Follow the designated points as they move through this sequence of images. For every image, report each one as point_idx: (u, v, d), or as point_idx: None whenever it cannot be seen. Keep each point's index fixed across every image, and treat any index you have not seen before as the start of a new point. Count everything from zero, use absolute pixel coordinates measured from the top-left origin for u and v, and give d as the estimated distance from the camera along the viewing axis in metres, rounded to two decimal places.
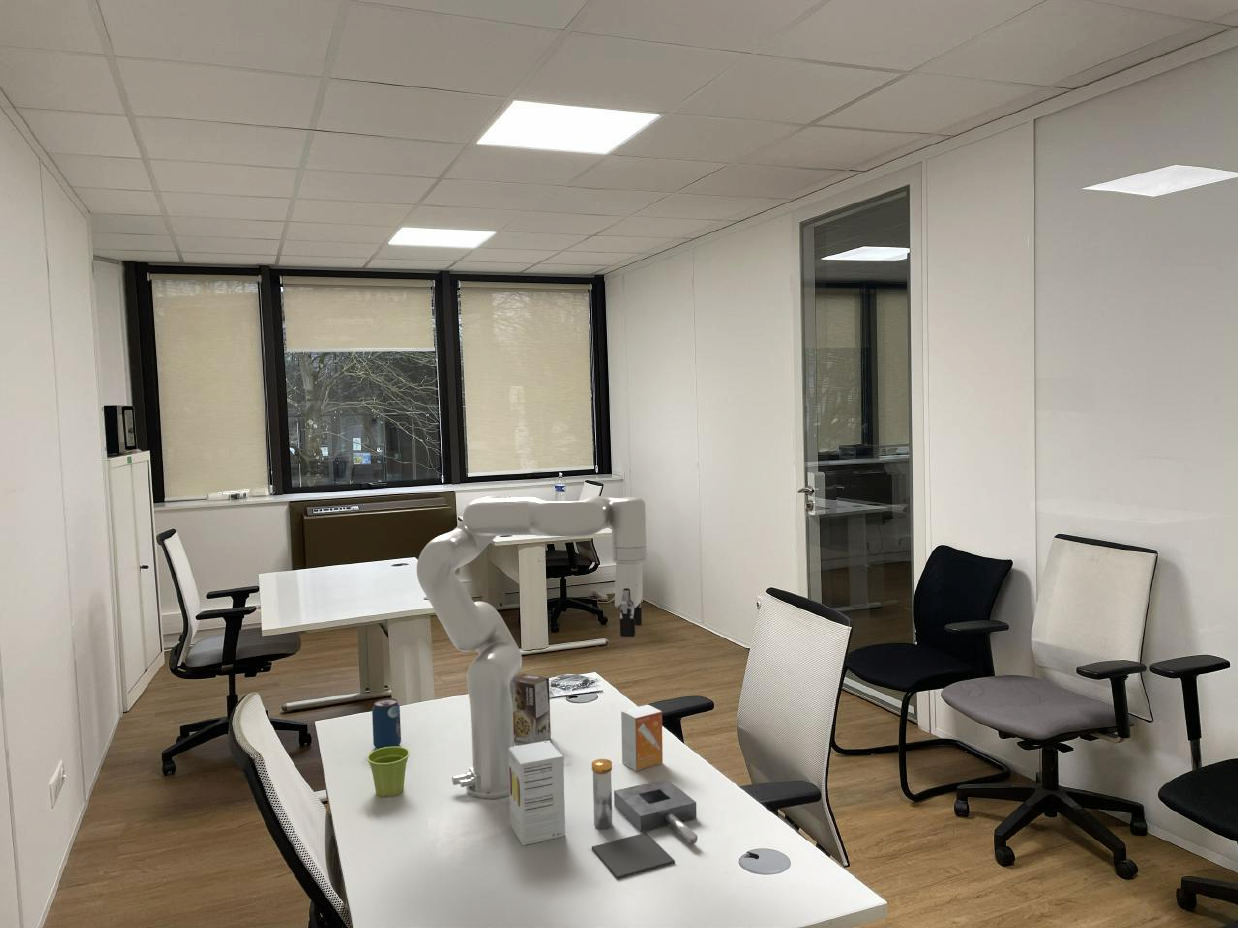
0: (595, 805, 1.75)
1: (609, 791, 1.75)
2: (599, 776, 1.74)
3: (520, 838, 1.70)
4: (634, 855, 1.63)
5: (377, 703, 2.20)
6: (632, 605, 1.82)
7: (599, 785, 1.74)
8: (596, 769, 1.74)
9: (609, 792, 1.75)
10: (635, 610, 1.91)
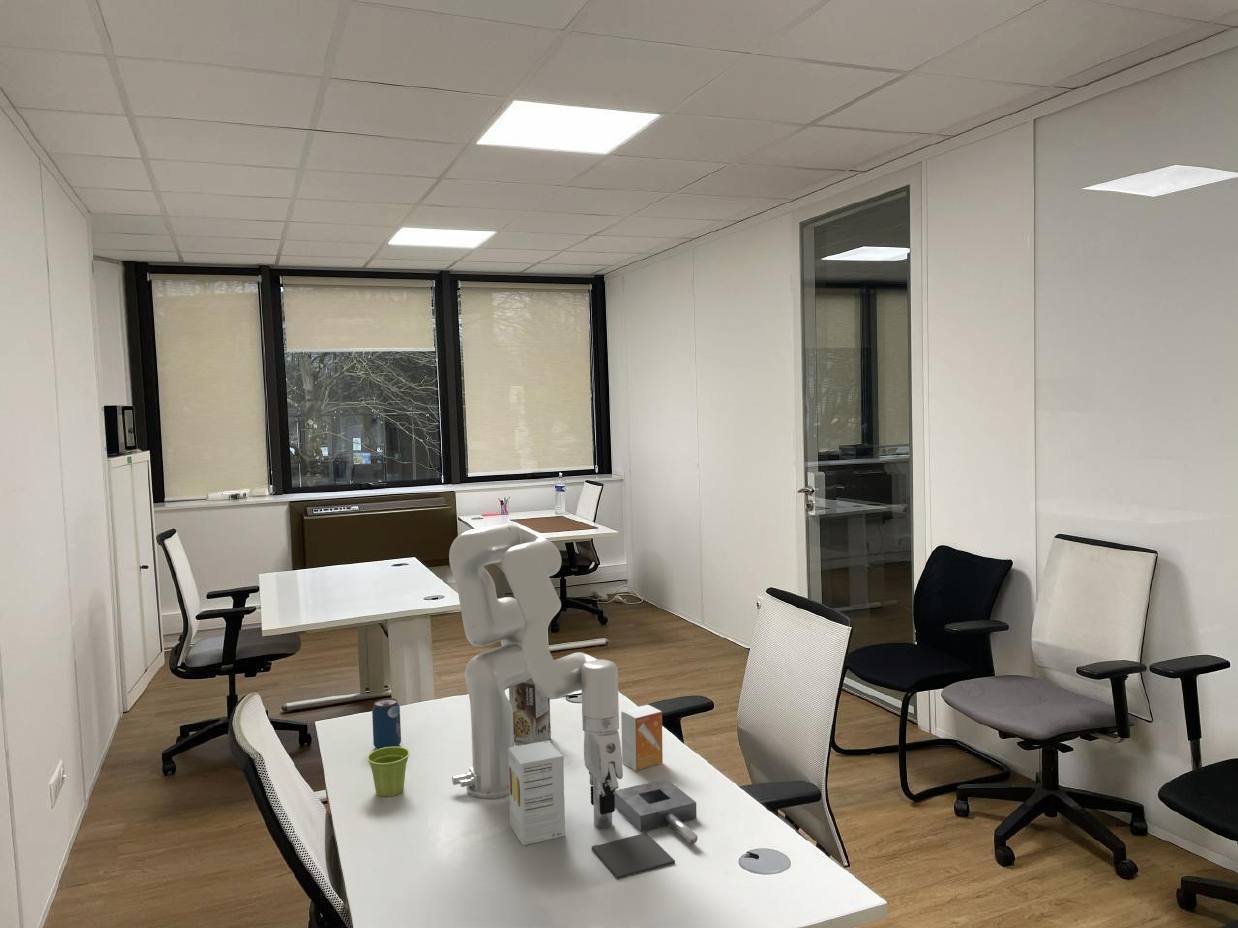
0: (595, 805, 1.75)
1: None
2: None
3: (520, 838, 1.70)
4: (634, 855, 1.63)
5: (377, 703, 2.20)
6: None
7: (599, 785, 1.74)
8: None
9: None
10: None
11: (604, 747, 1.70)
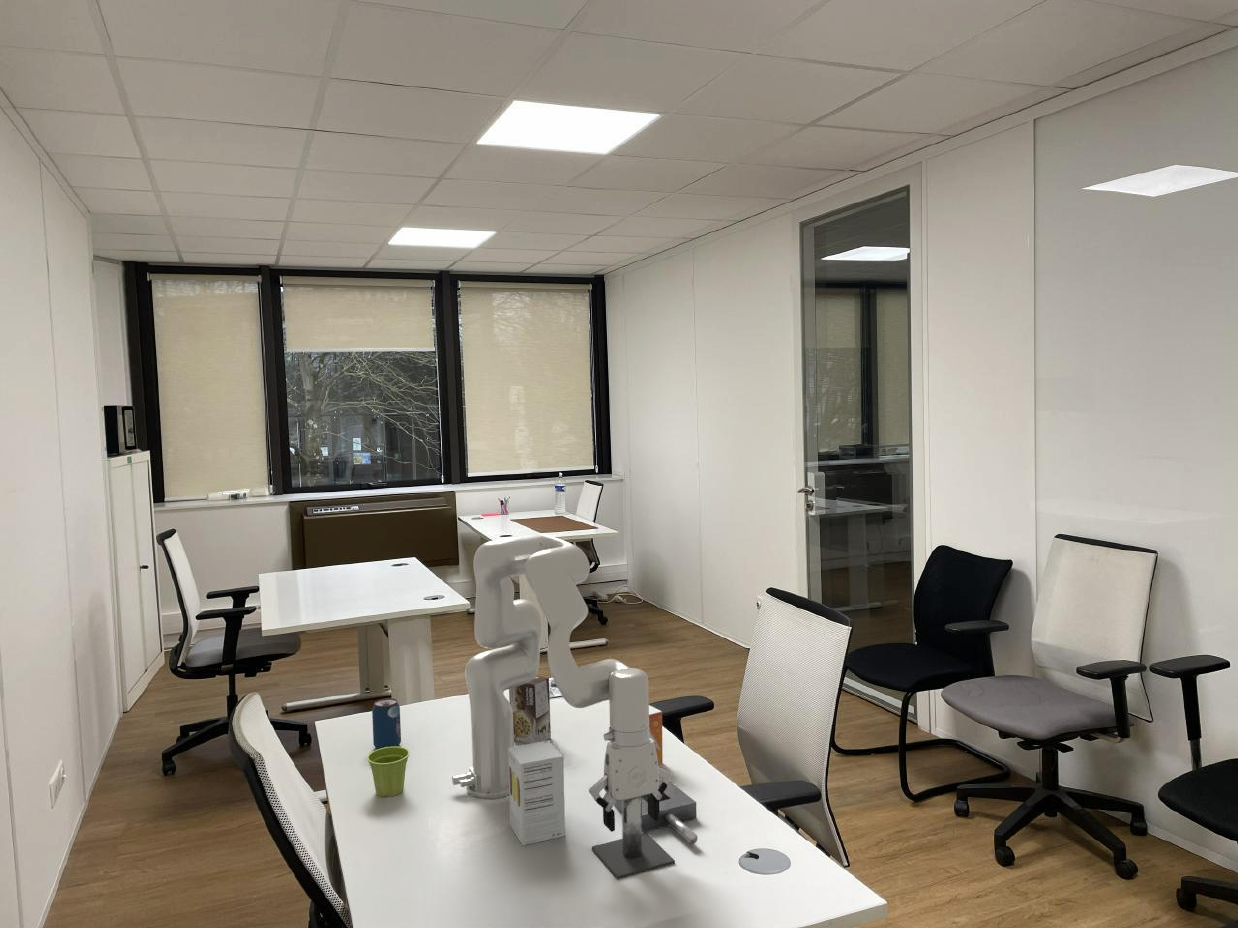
0: None
1: (626, 818, 1.61)
2: None
3: (520, 838, 1.70)
4: None
5: (377, 703, 2.20)
6: None
7: None
8: None
9: (626, 819, 1.61)
10: None
11: (605, 755, 1.61)
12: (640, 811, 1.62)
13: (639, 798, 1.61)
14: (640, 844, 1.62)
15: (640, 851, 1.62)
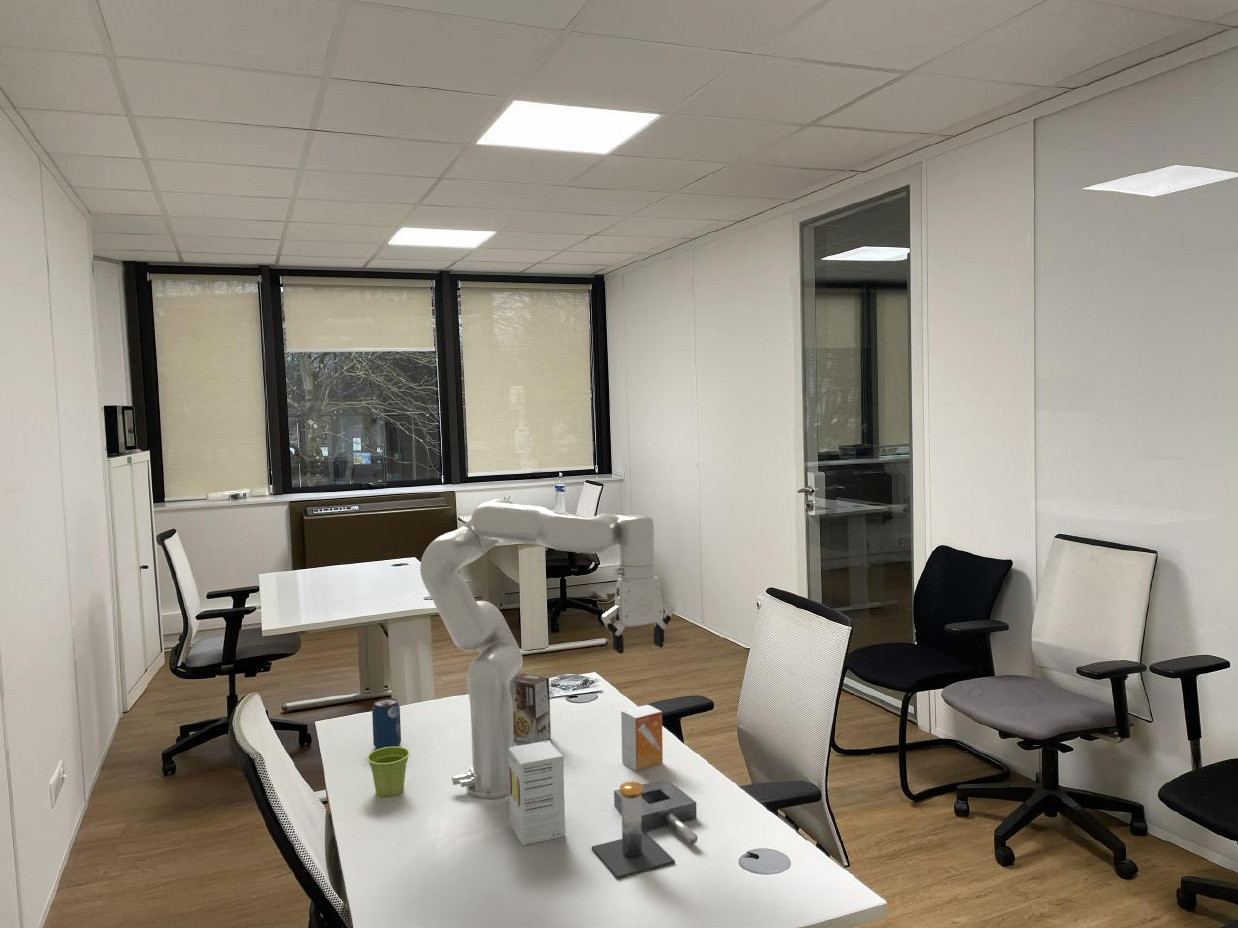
0: None
1: (625, 818, 1.61)
2: None
3: (520, 838, 1.70)
4: None
5: (377, 703, 2.20)
6: None
7: None
8: None
9: (625, 819, 1.61)
10: None
11: (616, 589, 1.85)
12: (639, 810, 1.62)
13: (638, 797, 1.62)
14: (640, 844, 1.62)
15: (640, 851, 1.62)
